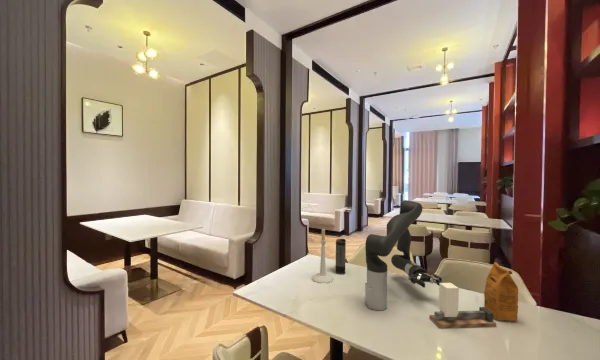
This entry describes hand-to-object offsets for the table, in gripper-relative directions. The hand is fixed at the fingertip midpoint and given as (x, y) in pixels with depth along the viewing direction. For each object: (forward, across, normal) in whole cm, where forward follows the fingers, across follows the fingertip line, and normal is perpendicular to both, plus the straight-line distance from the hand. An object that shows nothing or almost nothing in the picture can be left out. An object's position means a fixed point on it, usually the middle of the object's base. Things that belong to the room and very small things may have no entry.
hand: (433, 285), depth 115 cm
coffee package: (+6, +27, +11) cm, 30 cm away
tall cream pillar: (+11, 0, +8) cm, 13 cm away
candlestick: (-35, -46, +11) cm, 59 cm away
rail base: (+11, +6, +11) cm, 17 cm away
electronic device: (-46, -33, +11) cm, 58 cm away
